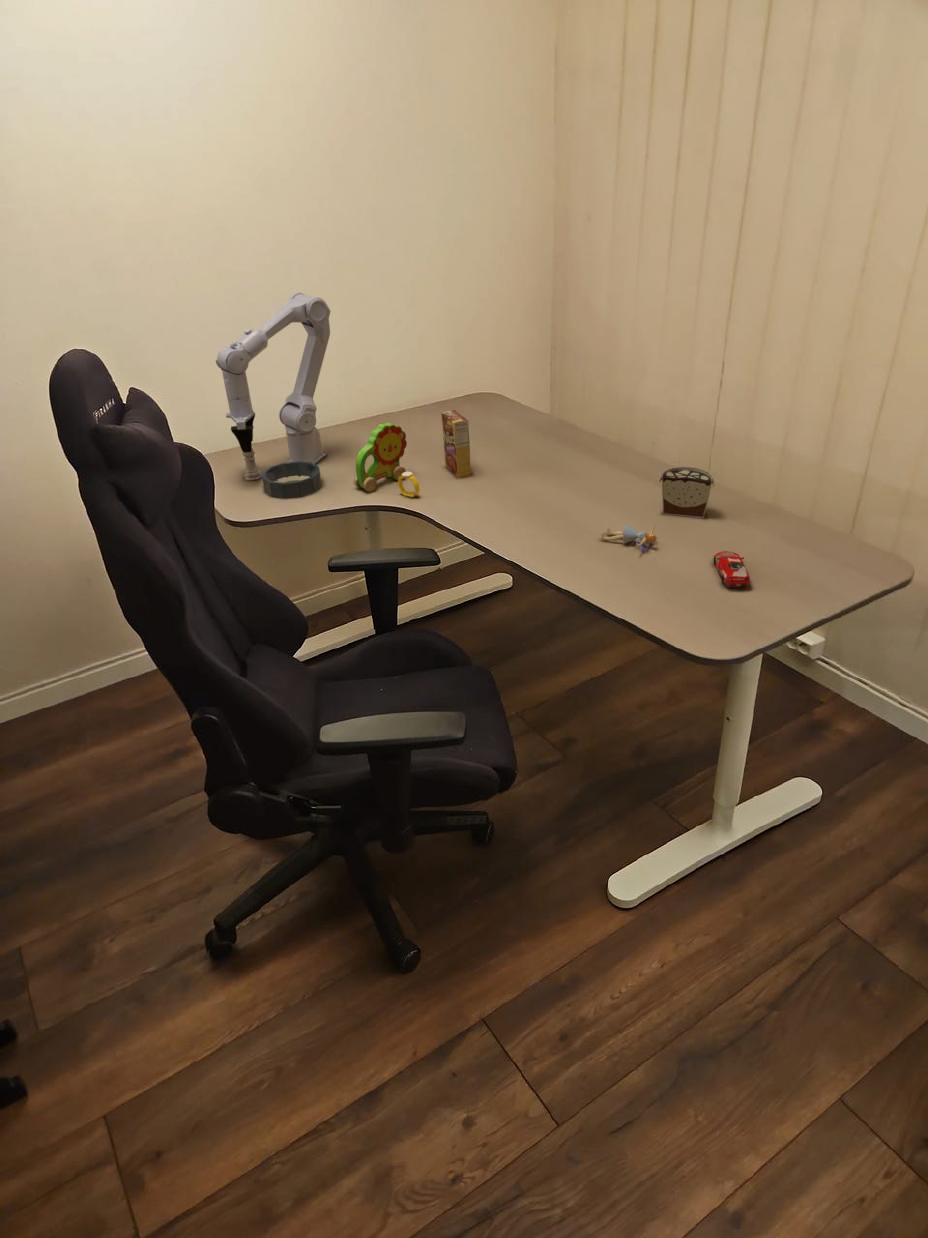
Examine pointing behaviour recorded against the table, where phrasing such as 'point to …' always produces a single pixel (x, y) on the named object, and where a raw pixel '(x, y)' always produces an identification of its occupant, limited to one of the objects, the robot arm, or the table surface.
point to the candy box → (456, 443)
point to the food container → (686, 491)
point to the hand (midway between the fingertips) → (247, 446)
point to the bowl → (292, 479)
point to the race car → (731, 569)
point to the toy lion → (381, 456)
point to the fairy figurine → (630, 536)
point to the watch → (414, 480)
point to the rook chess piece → (251, 467)
